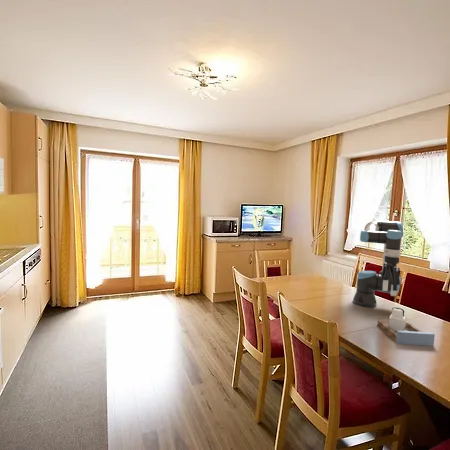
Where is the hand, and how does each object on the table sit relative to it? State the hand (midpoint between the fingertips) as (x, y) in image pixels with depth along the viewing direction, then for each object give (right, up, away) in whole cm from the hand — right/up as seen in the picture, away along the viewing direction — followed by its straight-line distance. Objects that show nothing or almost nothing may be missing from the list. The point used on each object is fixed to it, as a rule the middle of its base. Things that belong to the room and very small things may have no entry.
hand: (389, 293), depth 170 cm
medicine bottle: (-1, -18, -10) cm, 21 cm away
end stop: (-2, -19, -27) cm, 33 cm away
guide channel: (-2, -19, -16) cm, 24 cm away
